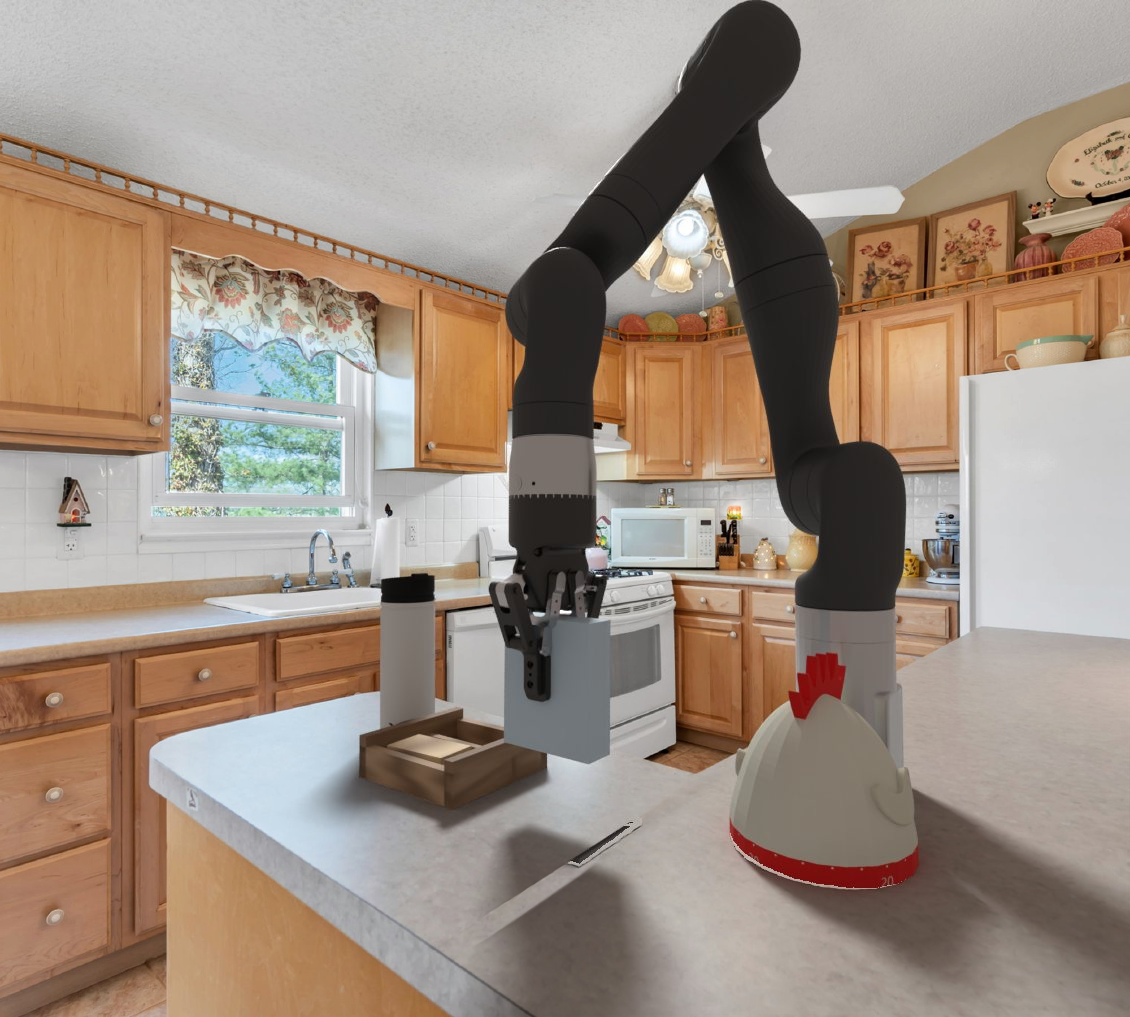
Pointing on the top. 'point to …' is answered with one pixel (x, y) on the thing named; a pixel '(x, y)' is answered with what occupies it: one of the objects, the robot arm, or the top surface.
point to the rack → (460, 774)
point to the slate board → (564, 694)
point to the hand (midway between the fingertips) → (551, 694)
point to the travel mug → (407, 648)
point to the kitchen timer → (824, 791)
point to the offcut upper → (429, 748)
